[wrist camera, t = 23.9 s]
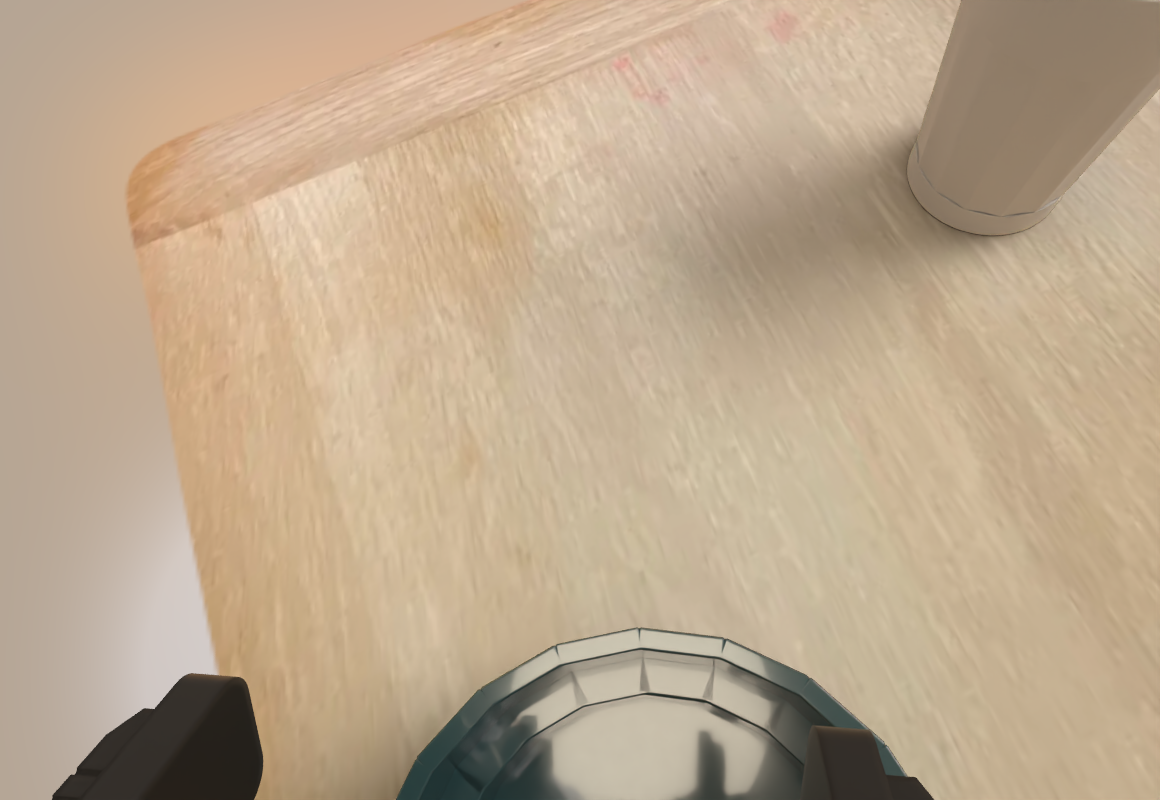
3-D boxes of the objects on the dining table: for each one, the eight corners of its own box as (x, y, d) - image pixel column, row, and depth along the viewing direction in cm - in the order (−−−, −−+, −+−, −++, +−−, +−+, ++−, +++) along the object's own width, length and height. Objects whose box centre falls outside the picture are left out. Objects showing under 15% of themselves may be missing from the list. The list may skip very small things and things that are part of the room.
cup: (860, 130, 35) (950, -144, 24) (1028, 86, 35) (1195, -206, 24) (932, 272, 32) (1074, 30, 21) (1117, 224, 32) (1357, -42, 21)
